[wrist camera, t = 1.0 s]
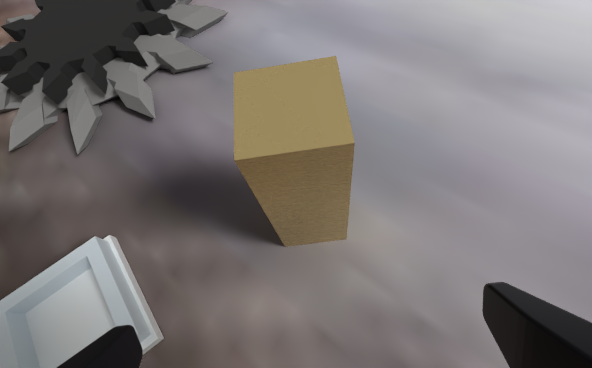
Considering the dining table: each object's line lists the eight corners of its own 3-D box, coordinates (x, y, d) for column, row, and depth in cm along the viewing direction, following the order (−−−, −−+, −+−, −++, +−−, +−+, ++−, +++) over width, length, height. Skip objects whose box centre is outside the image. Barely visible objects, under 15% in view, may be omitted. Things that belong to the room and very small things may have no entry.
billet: (346, 239, 22) (354, 142, 11) (284, 246, 23) (234, 160, 12) (337, 183, 24) (336, 55, 13) (280, 191, 25) (233, 72, 14)
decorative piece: (231, 98, 25) (-119, 175, 26) (244, 127, 28) (-65, 195, 29) (212, -84, 39) (-16, -29, 40) (223, -49, 42) (13, 0, 43)
